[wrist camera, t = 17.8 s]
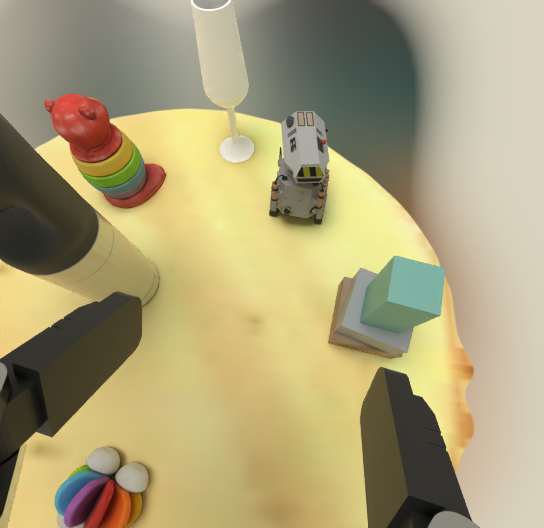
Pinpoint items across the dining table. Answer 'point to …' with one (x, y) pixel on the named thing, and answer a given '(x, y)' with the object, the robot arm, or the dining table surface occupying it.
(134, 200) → the stacking bear
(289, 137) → the figurine
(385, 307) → the green block
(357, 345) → the walnut base block
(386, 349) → the gray top block
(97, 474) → the rainbow petal toy
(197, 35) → the champagne flute
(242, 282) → the dining table surface
